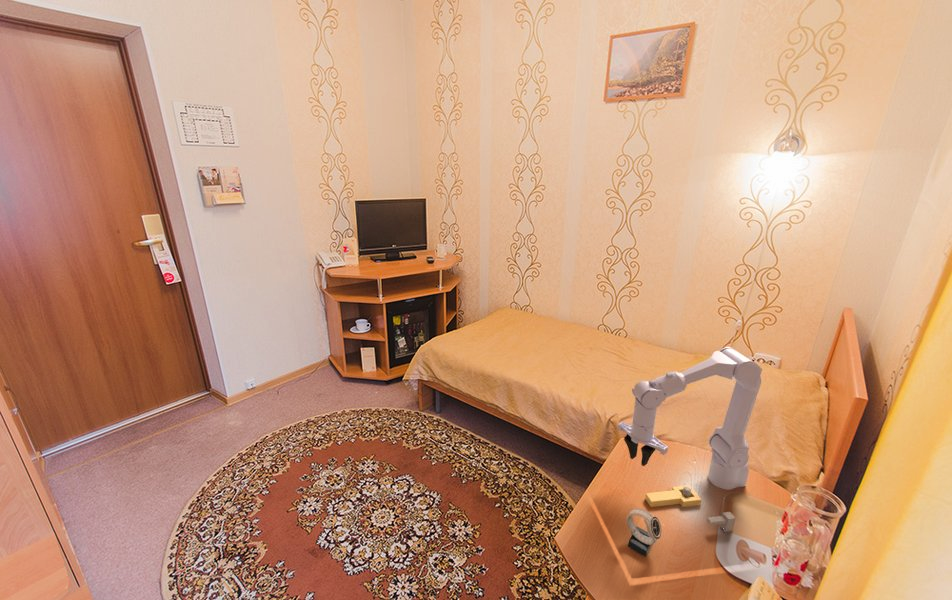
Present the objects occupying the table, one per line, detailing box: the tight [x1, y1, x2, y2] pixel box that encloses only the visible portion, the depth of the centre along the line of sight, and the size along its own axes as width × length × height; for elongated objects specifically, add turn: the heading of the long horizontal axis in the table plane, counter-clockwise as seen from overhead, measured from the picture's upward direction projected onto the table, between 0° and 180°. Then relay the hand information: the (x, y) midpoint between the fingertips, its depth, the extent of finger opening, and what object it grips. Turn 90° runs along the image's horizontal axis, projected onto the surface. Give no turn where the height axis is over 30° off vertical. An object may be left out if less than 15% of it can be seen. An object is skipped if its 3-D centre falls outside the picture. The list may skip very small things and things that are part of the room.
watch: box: [626, 507, 662, 557], centre depth 97 cm, size 6×8×11 cm
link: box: [644, 484, 702, 508], centre depth 111 cm, size 14×5×2 cm, turn 96°
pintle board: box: [682, 487, 736, 533], centre depth 108 cm, size 20×17×6 cm
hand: (638, 460), depth 114 cm, fingers open, 3 cm apart
